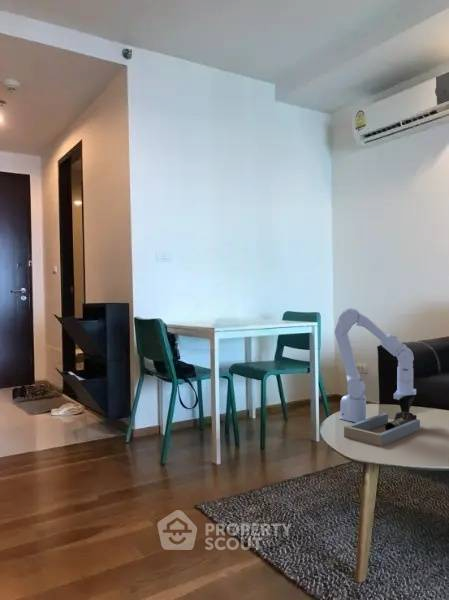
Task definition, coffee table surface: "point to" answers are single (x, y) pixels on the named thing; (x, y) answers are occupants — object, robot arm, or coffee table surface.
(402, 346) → the robot arm
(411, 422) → the grey rectangular tray
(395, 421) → the jagged brown rock
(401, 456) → the coffee table surface
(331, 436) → the coffee table surface
